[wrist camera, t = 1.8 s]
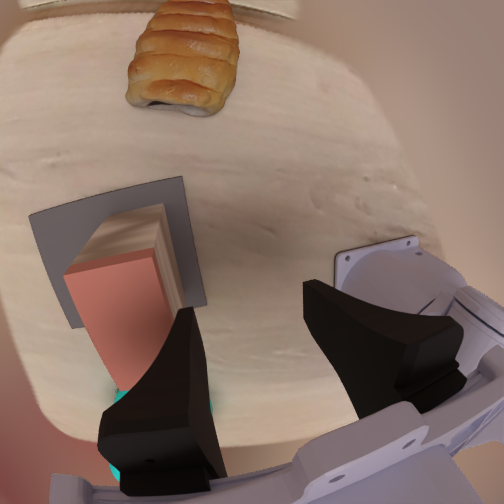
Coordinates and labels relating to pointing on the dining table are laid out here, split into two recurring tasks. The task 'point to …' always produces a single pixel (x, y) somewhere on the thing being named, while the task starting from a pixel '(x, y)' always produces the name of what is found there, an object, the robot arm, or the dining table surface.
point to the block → (128, 290)
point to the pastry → (185, 58)
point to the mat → (91, 217)
